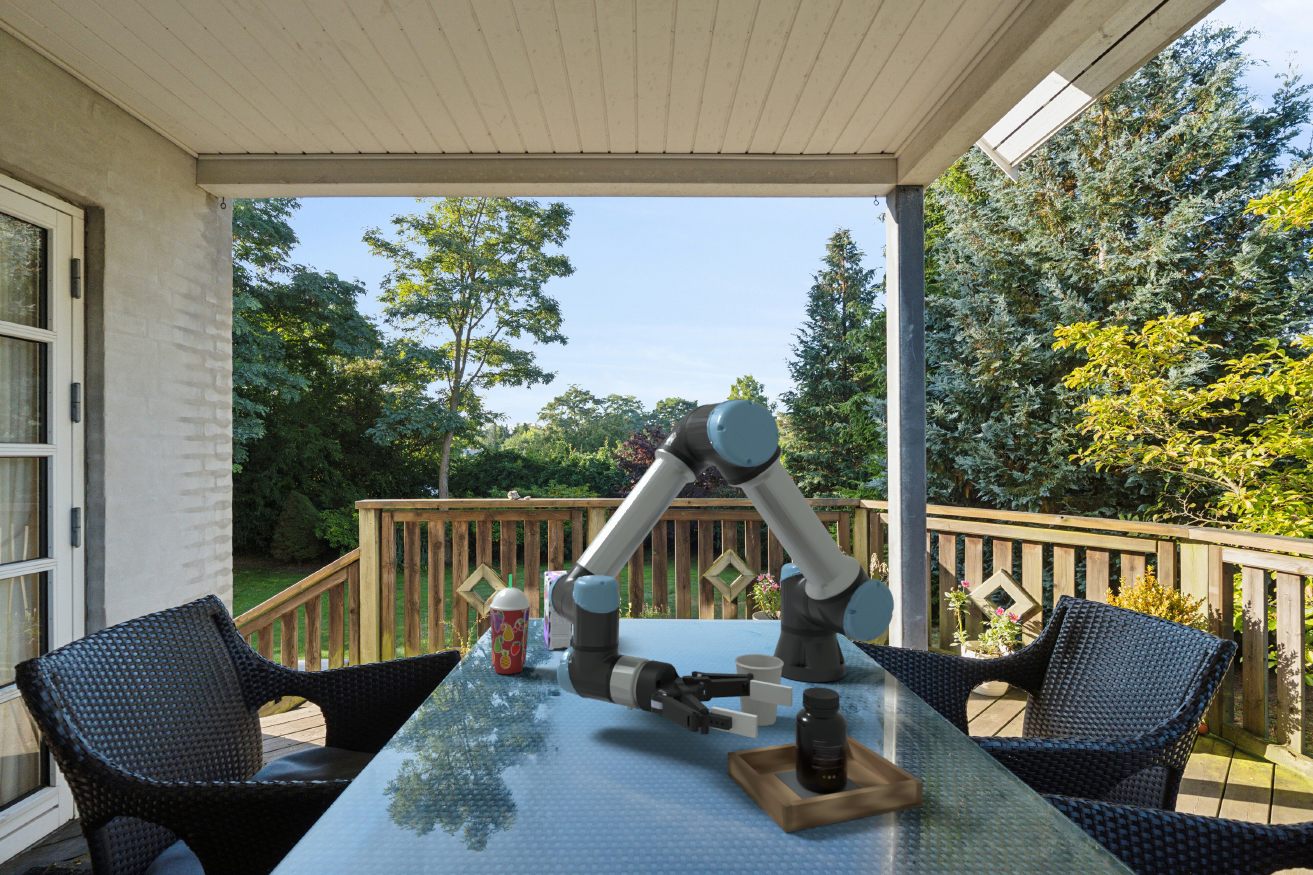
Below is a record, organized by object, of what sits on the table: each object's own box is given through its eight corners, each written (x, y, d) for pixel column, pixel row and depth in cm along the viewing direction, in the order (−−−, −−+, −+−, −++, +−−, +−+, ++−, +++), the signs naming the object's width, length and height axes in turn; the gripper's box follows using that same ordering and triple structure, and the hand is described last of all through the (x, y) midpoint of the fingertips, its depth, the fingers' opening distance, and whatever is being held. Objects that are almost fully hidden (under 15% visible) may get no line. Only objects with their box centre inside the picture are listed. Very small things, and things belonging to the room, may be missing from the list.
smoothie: (536, 666, 145) (537, 572, 146) (516, 678, 137) (517, 578, 138) (502, 662, 148) (504, 570, 148) (480, 673, 140) (482, 576, 141)
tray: (848, 754, 102) (848, 734, 102) (922, 805, 87) (922, 781, 87) (727, 774, 95) (727, 752, 95) (785, 832, 80) (785, 806, 80)
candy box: (542, 636, 171) (544, 570, 172) (566, 635, 172) (567, 569, 173) (547, 650, 157) (548, 579, 158) (572, 649, 159) (573, 578, 160)
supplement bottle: (789, 771, 94) (789, 684, 95) (837, 770, 95) (837, 683, 95) (804, 795, 88) (803, 701, 88) (855, 794, 88) (855, 700, 89)
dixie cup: (740, 708, 121) (740, 651, 122) (787, 714, 118) (787, 656, 119) (729, 724, 113) (729, 664, 114) (779, 731, 111) (779, 669, 111)
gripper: (683, 686, 116) (804, 710, 105) (599, 736, 95) (739, 772, 84) (684, 642, 117) (804, 662, 106) (599, 681, 95) (739, 711, 84)
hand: (775, 711), depth 95 cm, fingers open, 13 cm apart
